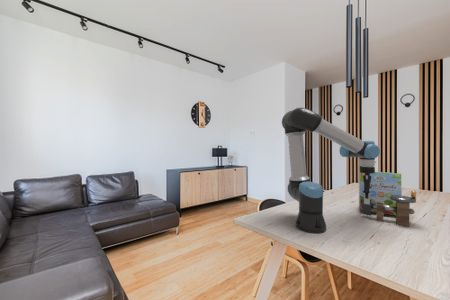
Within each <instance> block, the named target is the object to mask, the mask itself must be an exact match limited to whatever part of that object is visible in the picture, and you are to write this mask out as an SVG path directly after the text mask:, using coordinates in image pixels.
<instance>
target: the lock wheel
mask: <svg viewBox="0 0 450 300" xmlns="http://www.w3.org/2000/svg"><path fill="white" fill-rule="evenodd" d="M390 199H391V200H394V201H398V202H404V203H410V204H415V203H417V191H416V190H411V191H410V196H407V195H402V196H401V195H391V196H390Z"/></svg>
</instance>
